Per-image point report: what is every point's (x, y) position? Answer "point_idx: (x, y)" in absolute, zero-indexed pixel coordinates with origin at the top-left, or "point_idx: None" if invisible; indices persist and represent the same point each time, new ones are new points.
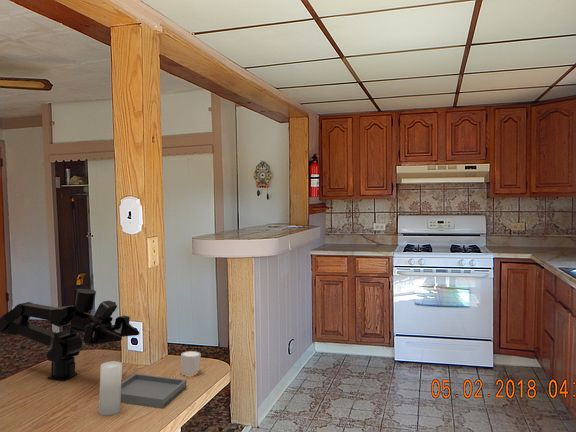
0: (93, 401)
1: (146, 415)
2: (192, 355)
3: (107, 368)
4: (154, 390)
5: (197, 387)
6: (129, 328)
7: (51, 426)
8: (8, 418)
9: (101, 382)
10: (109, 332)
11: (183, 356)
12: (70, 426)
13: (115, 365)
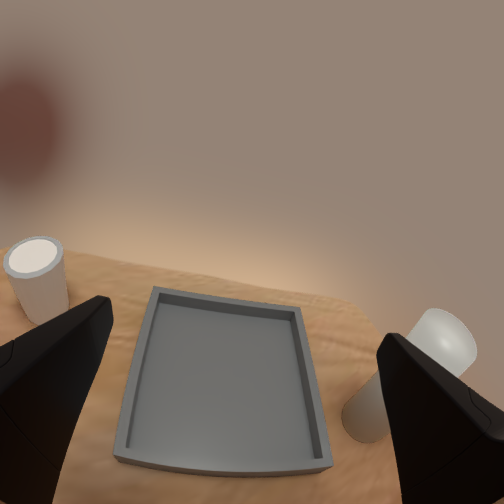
0: (343, 498)
1: (337, 338)
2: (46, 250)
3: (466, 330)
4: (218, 361)
5: (146, 282)
6: (40, 384)
7: None
8: None
9: None
10: (478, 395)
11: (51, 269)
12: None
13: (445, 321)
